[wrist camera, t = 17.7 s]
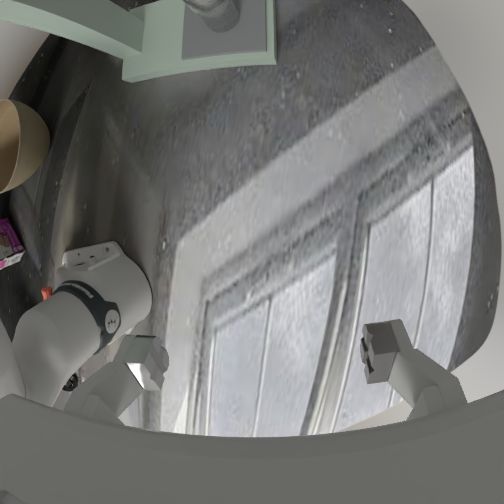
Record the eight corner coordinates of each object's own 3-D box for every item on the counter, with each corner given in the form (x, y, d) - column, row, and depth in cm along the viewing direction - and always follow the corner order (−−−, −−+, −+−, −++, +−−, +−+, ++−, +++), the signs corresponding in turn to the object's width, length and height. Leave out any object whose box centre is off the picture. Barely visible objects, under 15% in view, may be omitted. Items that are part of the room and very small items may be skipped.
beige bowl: (62, 188, 50) (17, 198, 38) (16, 182, 52) (-23, 190, 41) (71, 97, 44) (25, 92, 33) (22, 106, 46) (-18, 105, 35)
